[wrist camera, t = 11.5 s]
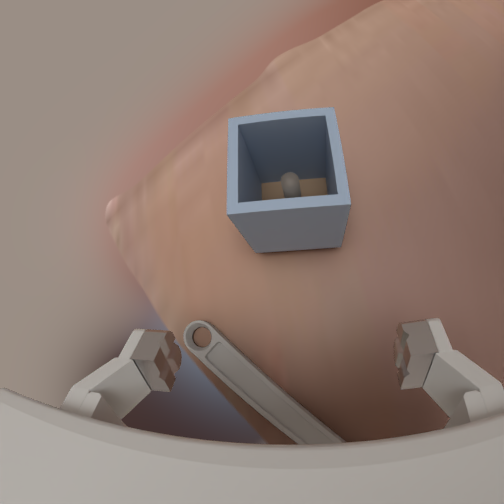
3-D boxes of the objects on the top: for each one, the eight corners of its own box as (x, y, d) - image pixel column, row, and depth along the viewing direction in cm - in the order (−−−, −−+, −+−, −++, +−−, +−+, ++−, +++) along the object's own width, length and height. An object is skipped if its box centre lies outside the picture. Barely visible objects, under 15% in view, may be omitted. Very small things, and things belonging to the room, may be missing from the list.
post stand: (259, 184, 27) (243, 147, 22) (328, 178, 26) (329, 138, 21) (261, 252, 26) (244, 227, 20) (336, 246, 25) (341, 220, 19)
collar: (253, 177, 26) (228, 118, 18) (331, 170, 25) (333, 107, 17) (255, 253, 24) (226, 214, 17) (341, 246, 23) (350, 204, 15)
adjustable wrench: (183, 337, 26) (174, 337, 24) (237, 284, 26) (231, 280, 24) (382, 525, 18) (385, 535, 16) (439, 477, 18) (445, 485, 16)
